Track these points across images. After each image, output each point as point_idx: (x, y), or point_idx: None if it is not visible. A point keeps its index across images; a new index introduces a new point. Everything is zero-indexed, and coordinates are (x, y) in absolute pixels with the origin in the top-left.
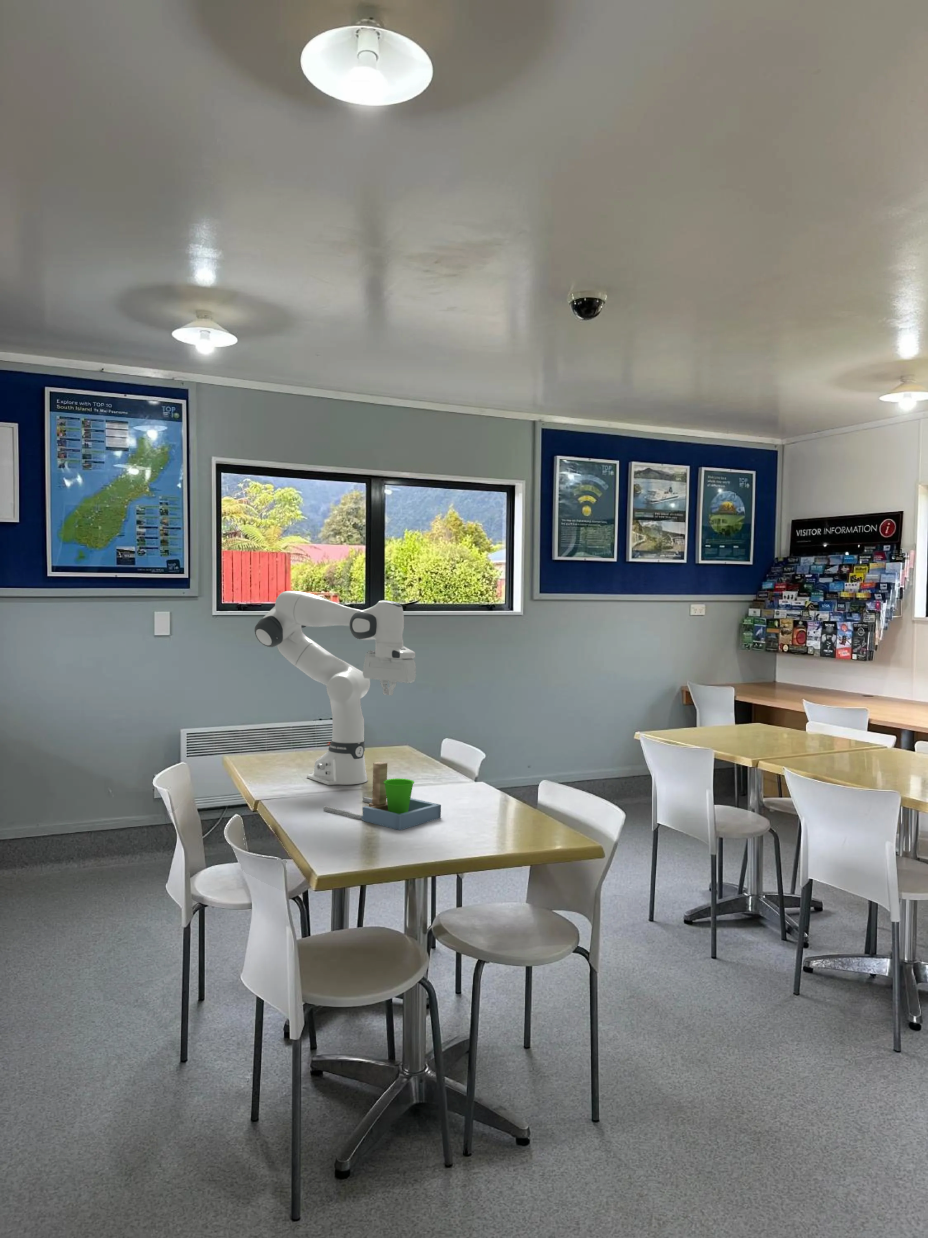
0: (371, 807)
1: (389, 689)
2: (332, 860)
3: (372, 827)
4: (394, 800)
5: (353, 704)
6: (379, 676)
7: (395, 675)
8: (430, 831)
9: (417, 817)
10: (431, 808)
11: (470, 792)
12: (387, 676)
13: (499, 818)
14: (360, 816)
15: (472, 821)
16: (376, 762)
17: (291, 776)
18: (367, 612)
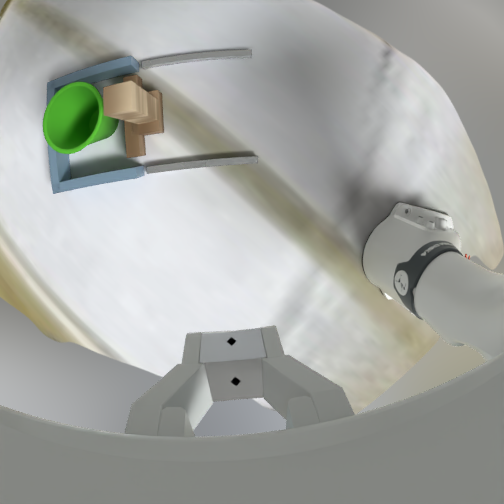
0: (116, 67)
1: (181, 366)
2: None
3: (99, 57)
4: (78, 100)
5: (484, 317)
6: (375, 451)
7: (3, 472)
8: (29, 125)
9: None
10: (50, 165)
11: (176, 353)
12: (161, 491)
13: (29, 264)
14: (144, 61)
15: (32, 219)
16: (130, 92)
17: (466, 206)
18: None
